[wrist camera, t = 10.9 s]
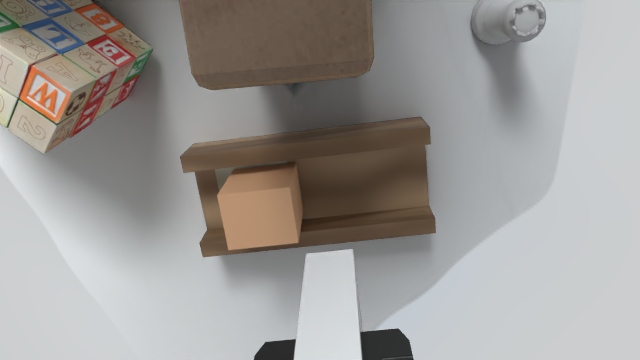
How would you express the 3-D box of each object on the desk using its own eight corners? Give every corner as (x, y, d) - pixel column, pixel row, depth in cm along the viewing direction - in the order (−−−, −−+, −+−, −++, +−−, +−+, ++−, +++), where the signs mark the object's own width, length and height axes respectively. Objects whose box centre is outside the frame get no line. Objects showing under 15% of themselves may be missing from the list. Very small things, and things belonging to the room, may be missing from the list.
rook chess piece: (506, 51, 45) (541, 60, 37) (460, 33, 44) (486, 38, 37) (529, 2, 43) (571, 0, 36) (483, -17, 43) (515, -23, 35)
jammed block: (233, 169, 47) (217, 195, 40) (295, 162, 47) (289, 187, 40) (242, 217, 49) (228, 250, 42) (303, 211, 48) (298, 242, 42)
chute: (193, 143, 48) (179, 156, 44) (420, 116, 47) (429, 127, 42) (213, 236, 51) (202, 257, 47) (427, 213, 50) (435, 232, 46)
